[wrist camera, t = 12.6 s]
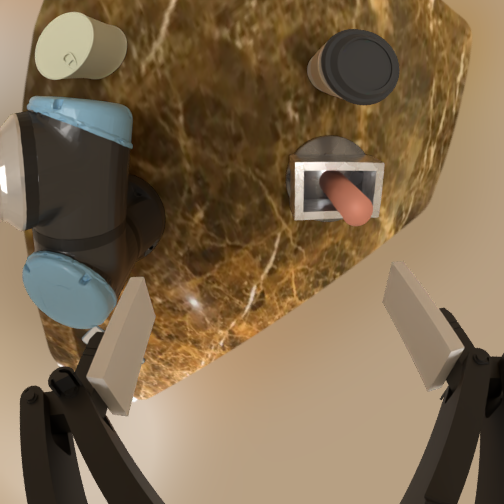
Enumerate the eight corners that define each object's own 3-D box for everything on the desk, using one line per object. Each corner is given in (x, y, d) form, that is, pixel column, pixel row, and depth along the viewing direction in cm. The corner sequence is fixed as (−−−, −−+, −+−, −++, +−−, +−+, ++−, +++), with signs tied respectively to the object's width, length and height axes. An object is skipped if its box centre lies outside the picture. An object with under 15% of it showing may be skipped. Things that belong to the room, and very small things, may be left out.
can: (91, 90, 37) (50, 95, 27) (67, 51, 33) (23, 47, 22) (137, 53, 35) (104, 44, 24) (111, 14, 31) (74, -3, 20)
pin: (318, 193, 46) (341, 226, 36) (319, 169, 44) (343, 195, 34) (343, 193, 46) (371, 225, 36) (344, 169, 44) (374, 195, 34)
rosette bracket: (285, 221, 49) (291, 238, 44) (284, 135, 42) (290, 141, 37) (365, 217, 49) (379, 233, 44) (372, 137, 42) (388, 144, 37)
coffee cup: (368, 86, 38) (419, 89, 25) (318, 110, 40) (353, 120, 27) (340, 35, 34) (382, 15, 21) (288, 58, 36) (310, 42, 23)
